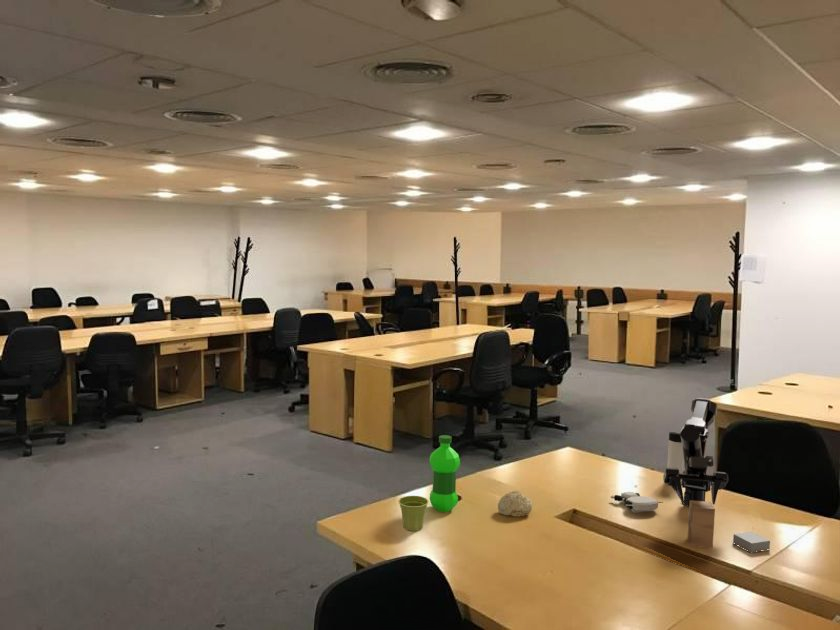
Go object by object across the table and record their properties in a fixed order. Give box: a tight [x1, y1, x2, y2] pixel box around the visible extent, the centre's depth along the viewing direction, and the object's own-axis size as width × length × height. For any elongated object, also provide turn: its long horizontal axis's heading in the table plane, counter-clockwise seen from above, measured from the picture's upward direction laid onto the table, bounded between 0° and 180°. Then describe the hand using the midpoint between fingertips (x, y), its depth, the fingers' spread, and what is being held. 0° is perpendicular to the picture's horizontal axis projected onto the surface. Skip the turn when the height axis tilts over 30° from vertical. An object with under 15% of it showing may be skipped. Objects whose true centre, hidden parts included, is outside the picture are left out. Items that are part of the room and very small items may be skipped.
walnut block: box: [687, 500, 716, 548], centre depth 204 cm, size 6×6×12 cm
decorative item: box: [497, 490, 533, 517], centre depth 224 cm, size 12×9×10 cm
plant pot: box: [398, 495, 430, 532], centre depth 210 cm, size 9×9×9 cm
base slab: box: [732, 531, 771, 553], centre depth 202 cm, size 7×7×3 cm
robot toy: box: [610, 491, 664, 514], centre depth 232 cm, size 12×4×15 cm
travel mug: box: [666, 431, 685, 483], centre depth 259 cm, size 6×7×20 cm
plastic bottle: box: [429, 434, 461, 513], centre depth 226 cm, size 10×10×25 cm
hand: (698, 502), depth 208 cm, fingers open, 9 cm apart
